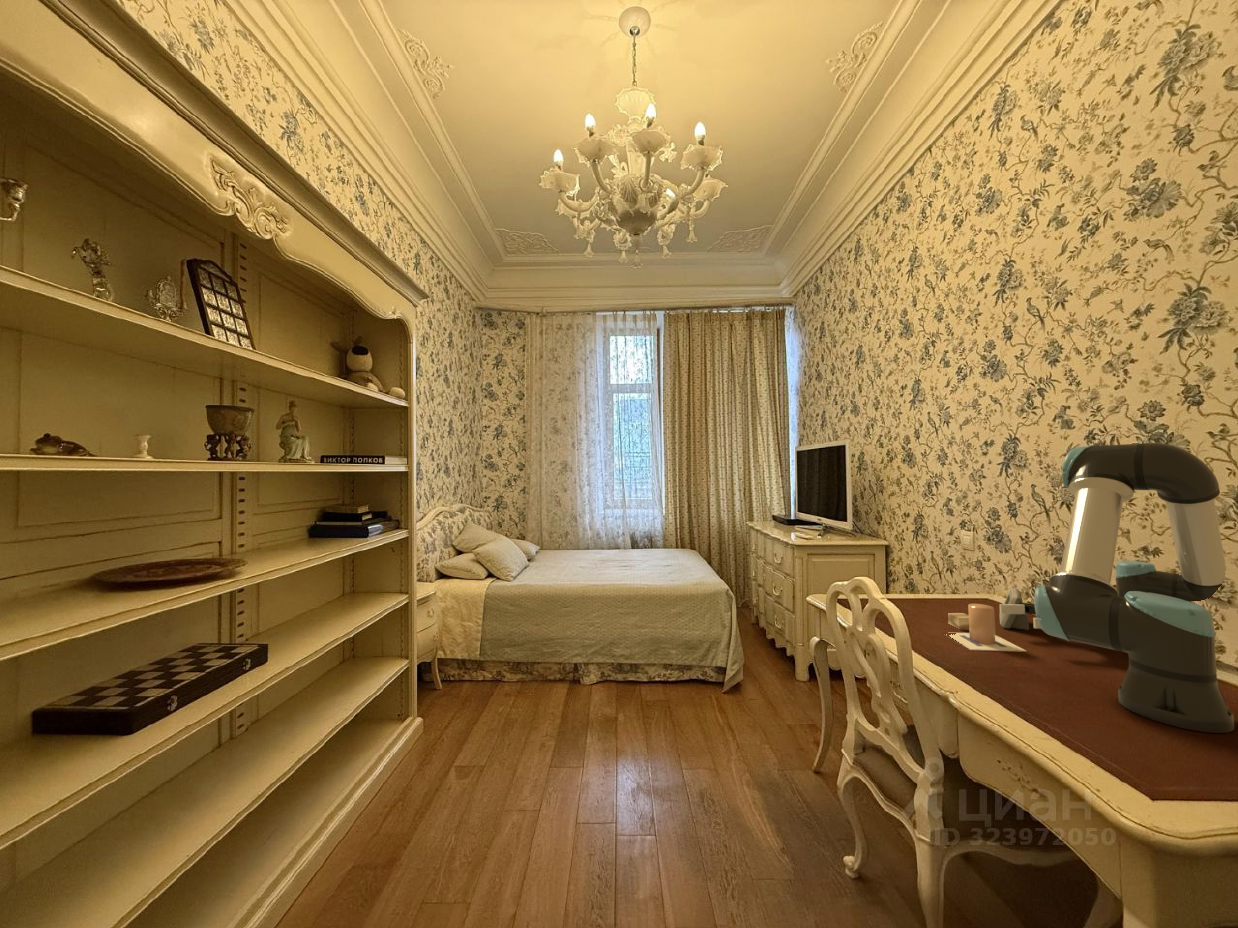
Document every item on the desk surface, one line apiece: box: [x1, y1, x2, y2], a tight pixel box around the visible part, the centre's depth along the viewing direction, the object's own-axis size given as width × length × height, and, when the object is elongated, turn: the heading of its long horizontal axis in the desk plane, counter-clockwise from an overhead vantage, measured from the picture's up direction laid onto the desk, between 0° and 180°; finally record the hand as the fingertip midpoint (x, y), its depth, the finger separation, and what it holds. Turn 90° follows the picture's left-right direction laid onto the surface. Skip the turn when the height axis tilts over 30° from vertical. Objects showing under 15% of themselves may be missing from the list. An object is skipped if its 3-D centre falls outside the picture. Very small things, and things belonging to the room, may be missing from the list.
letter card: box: [945, 632, 1027, 653], centre depth 136 cm, size 14×14×1 cm
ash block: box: [947, 612, 969, 629], centre depth 149 cm, size 5×5×4 cm
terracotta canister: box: [967, 603, 996, 645], centre depth 136 cm, size 6×6×10 cm
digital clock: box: [999, 587, 1030, 631], centre depth 151 cm, size 16×9×11 cm, turn 130°
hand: (1016, 615), depth 135 cm, fingers open, 13 cm apart
